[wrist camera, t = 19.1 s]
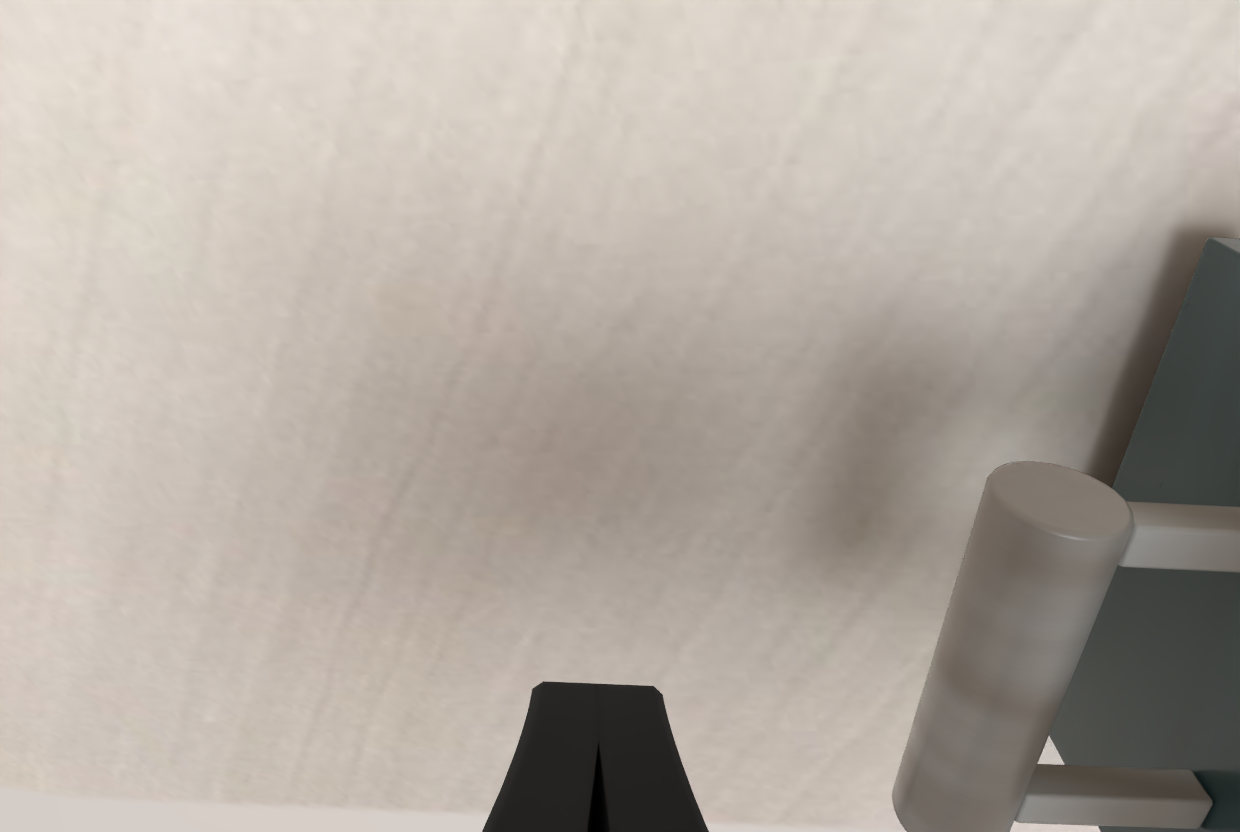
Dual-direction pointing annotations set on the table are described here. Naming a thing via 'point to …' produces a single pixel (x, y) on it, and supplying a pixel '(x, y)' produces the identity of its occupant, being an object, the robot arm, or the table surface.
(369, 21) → the table surface
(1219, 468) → the drawer
